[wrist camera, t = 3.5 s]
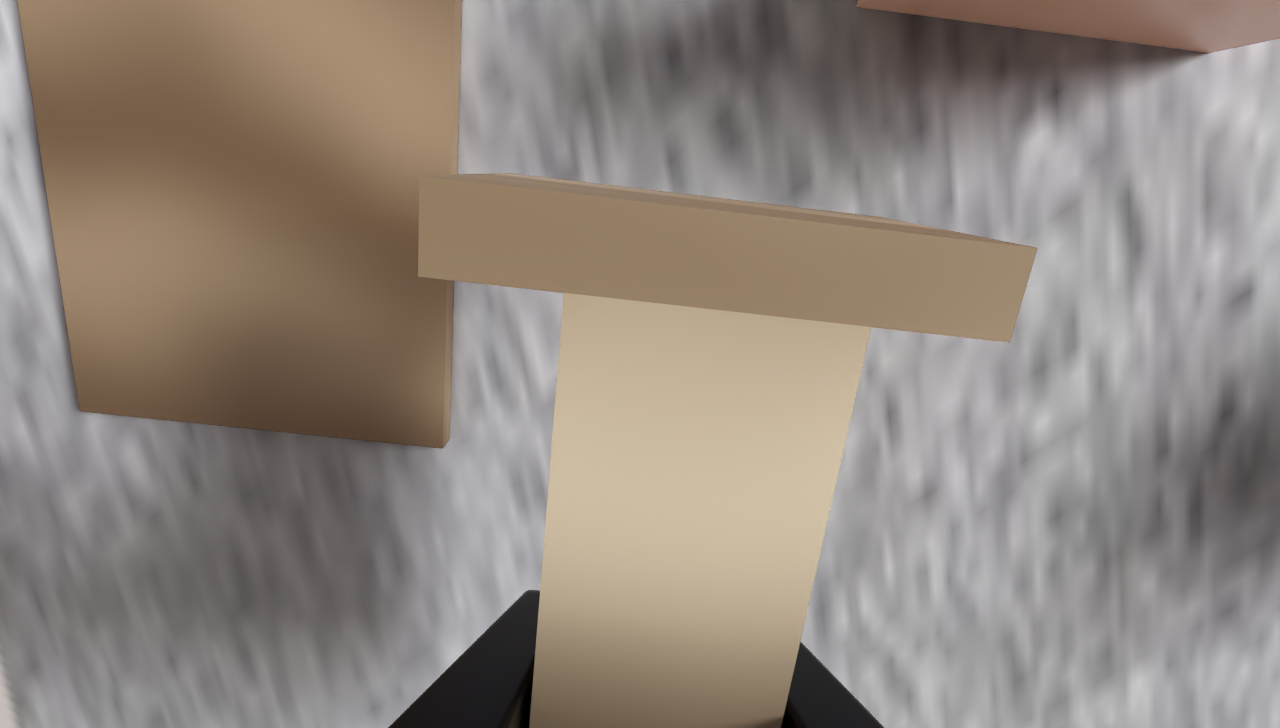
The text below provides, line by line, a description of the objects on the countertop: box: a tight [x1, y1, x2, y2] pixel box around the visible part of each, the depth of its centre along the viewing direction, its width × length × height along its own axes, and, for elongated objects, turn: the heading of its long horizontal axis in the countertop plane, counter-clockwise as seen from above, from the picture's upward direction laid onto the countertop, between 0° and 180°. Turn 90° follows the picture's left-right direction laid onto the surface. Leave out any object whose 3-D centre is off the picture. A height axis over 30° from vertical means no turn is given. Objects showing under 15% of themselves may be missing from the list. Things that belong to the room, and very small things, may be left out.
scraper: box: [418, 173, 1037, 728], centre depth 8 cm, size 11×5×4 cm, turn 173°
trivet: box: [17, 0, 462, 448], centre depth 15 cm, size 12×9×1 cm
